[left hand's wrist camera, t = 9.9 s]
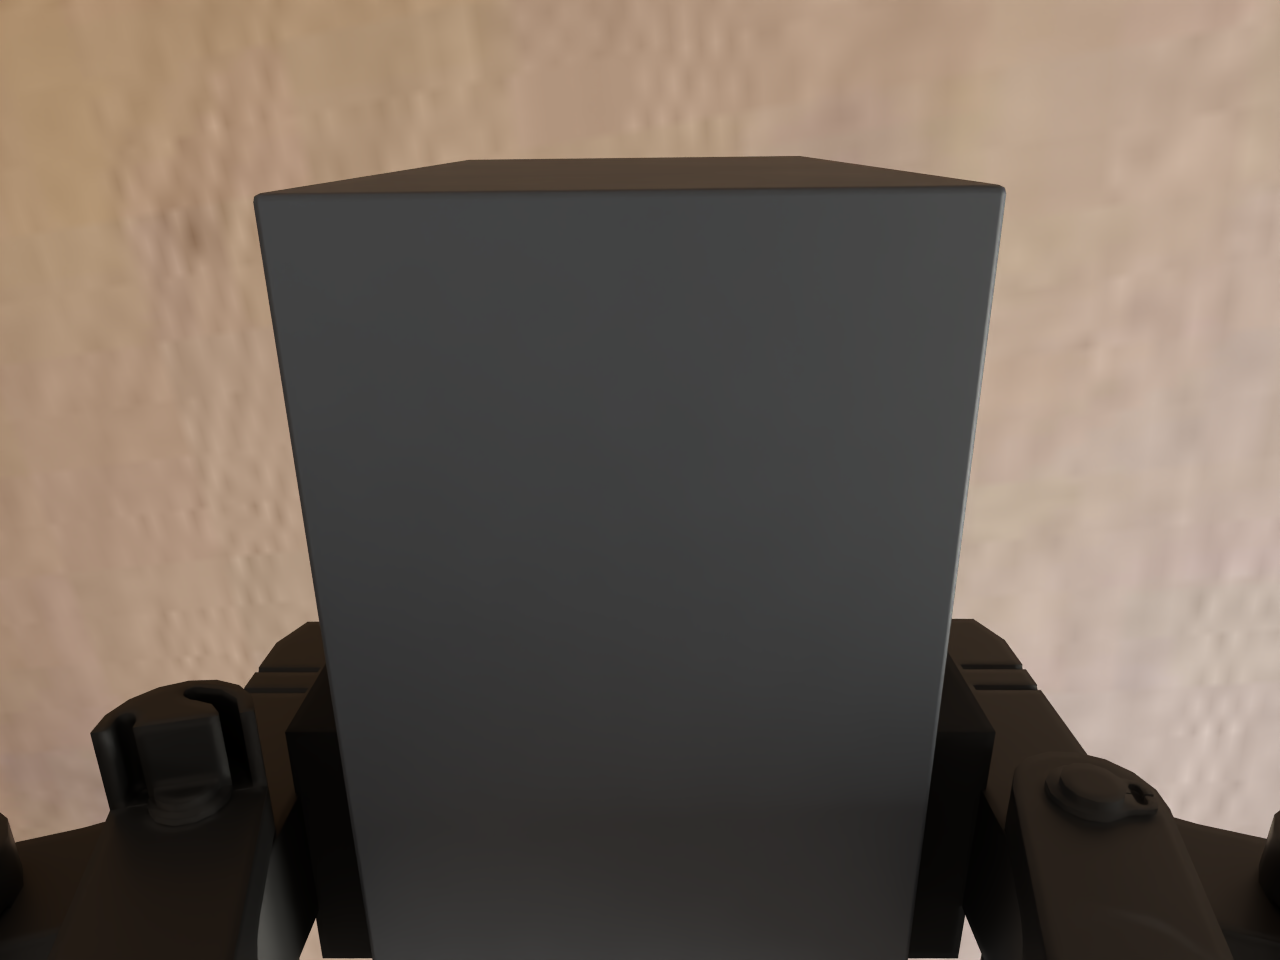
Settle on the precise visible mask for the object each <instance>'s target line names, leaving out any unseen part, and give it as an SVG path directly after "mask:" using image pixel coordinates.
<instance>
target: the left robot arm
mask: <svg viewBox="0 0 1280 960" xmlns="http://www.w3.org/2000/svg"><path fill="white" fill-rule="evenodd" d="M90 734H91V738H92V742H93V746H94V750H95V754H96V757H97V761H98V765H99V769H100V773H101V777H102V781H103V784H104V788H105V792H106V796H107V800H108V804H109V808H110V812H109V814H108V817H107V819H106V821H105V822H102V823H99V824H95V825H92V826H88V827H85V828H80V829H76V830H71V831H67V832H62V833H57V834H53V835H48V836H43V837H39V838H34V839H29V840H25V841H20V842H16V843H15V841H14V838H13V835H12V831H11V828H10V825H9V822H8V819H7V818H6V817H5V816H4V815H3V814H1V813H0V960H299V957H300V955H301V952H302V950H303V948H304V945H305V943H306V940H307V938H308V935H309V933H310V931H311V928H312V926H313V923H314V921H315V919H316V921H317V927H318V933H319V939H320V945H321V951H322V956H323V958H372V952H371V946H370V940H369V933H368V927H367V921H366V914H365V908H364V902H363V895H362V889H361V883H360V876H359V870H358V864H357V857H356V851H355V845H354V838H353V832H352V825H351V819H350V813H349V806H348V800H347V794H346V787H345V781H344V775H343V768H342V762H341V756H340V749H339V743H338V737H337V730H336V724H335V718H334V711H333V705H332V698H331V692H330V686H329V679H328V673H327V667H326V660H325V654H324V648H323V641H322V635H321V629H320V622H307V623H305V624H304V625H302V626H301V627H299V628H298V629H296V630H295V631H293V632H292V633H290V634H289V635H288V636H286V637H285V638H283V639H282V640H280V641H279V642H277V643H276V644H275V646H274V647H273V649H272V650H271V651H270V653H269V654H268V656H267V657H266V658H265V660H264V661H263V662H262V664H261V665H260V667H259V672H255V674H254V675H253V676H252V678H251V679H250V681H249V682H248V683H247V685H246V686H245V688H244V689H243V688H242V687H241V686H239V685H236V684H232V683H228V682H224V681H219V680H197V681H186V682H181V683H177V684H172V685H167V686H163V687H159V688H156V689H154V690H151V691H149V692H146V693H144V694H141V695H139V696H136V697H134V698H132V699H129V700H128V701H126V702H125V703H123V704H122V705H120V706H119V707H117V708H116V709H114V710H113V711H111V712H109V713H108V714H106V715H105V716H104V717H103V719H102V720H101V721H100V722H99V723H98V725H97V726H96V727H95V728H94V729H93V730H92V732H91V733H90ZM965 915H966V917H967V920H968V922H969V925H970V927H971V929H972V932H973V934H974V937H975V939H976V941H977V944H978V946H979V949H980V951H981V953H982V954H981V960H1280V811H1278V812H1277V813H1276V814H1275V815H1274V818H1273V821H1272V824H1271V828H1270V831H1269V834H1268V837H1267V839H1265V838H1260V837H1255V836H1251V835H1246V834H1241V833H1237V832H1232V831H1227V830H1223V829H1218V828H1213V827H1209V826H1204V825H1199V824H1195V823H1192V822H1188V821H1185V820H1181V819H1178V818H1174V817H1173V815H1172V813H1171V810H1170V809H1169V807H1168V806H1167V804H1166V803H1165V802H1164V800H1163V799H1162V797H1161V796H1160V795H1159V793H1158V792H1157V790H1156V789H1154V788H1153V787H1152V786H1150V785H1149V784H1148V783H1146V782H1145V781H1144V780H1142V779H1141V778H1140V777H1139V776H1137V775H1136V774H1135V773H1133V772H1131V771H1129V770H1127V769H1125V768H1123V767H1120V766H1118V765H1116V764H1114V763H1112V762H1110V761H1108V760H1105V759H1102V758H1098V757H1093V756H1089V755H1087V754H1086V752H1085V751H1084V749H1083V748H1082V747H1081V745H1080V744H1079V742H1078V741H1077V740H1076V738H1075V737H1074V736H1073V734H1072V733H1071V731H1070V730H1069V729H1068V727H1067V726H1066V724H1065V723H1064V722H1063V720H1062V719H1061V718H1060V716H1059V715H1058V713H1057V712H1056V711H1055V709H1054V708H1053V706H1052V705H1051V704H1050V702H1049V701H1048V700H1047V698H1046V697H1045V695H1044V694H1043V693H1042V691H1041V690H1037V684H1036V683H1035V682H1034V680H1033V679H1032V677H1031V676H1030V675H1029V673H1028V672H1027V670H1026V669H1022V664H1021V662H1020V661H1019V659H1018V658H1017V657H1016V655H1015V654H1014V652H1013V651H1012V650H1011V648H1010V647H1009V645H1008V644H1007V643H1006V641H1005V640H1004V639H1002V638H1001V637H999V636H998V635H996V634H995V633H993V632H992V631H990V630H989V629H987V628H986V627H984V626H983V625H981V624H980V623H978V622H977V621H975V620H974V619H951V626H950V634H949V642H948V650H947V658H946V665H945V673H944V681H943V689H942V696H941V704H940V712H939V720H938V728H937V735H936V743H935V751H934V759H933V767H932V774H931V782H930V790H929V798H928V805H927V813H926V821H925V829H924V837H923V844H922V852H921V860H920V868H919V876H918V883H917V891H916V899H915V907H914V915H913V922H912V930H911V938H910V946H909V953H908V958H958V954H959V948H960V942H961V936H962V930H963V924H964V918H965Z"/></svg>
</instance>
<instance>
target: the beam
mask: <svg viewBox="0 0 1280 960" xmlns="http://www.w3.org/2000/svg"><path fill="white" fill-rule="evenodd" d="M1005 198H1006V191H1005V188H1004V187H1002V186H1000V185H996V184H989V183H983V182H976V181H969V180H962V179H955V178H948V177H941V176H934V175H927V174H920V173H913V172H906V171H899V170H892V169H885V168H879V167H872V166H865V165H858V164H851V163H844V162H837V161H830V160H823V159H816V158H809V157H802V156H769V157H683V158H596V159H510V160H466V161H460V162H453V163H447V164H441V165H434V166H428V167H422V168H416V169H409V170H403V171H397V172H391V173H384V174H378V175H372V176H366V177H359V178H353V179H347V180H341V181H334V182H328V183H322V184H316V185H309V186H303V187H297V188H291V189H284V190H278V191H272V192H266V193H260V194H258V195H256V196H255V197H254V202H253V203H254V210H255V216H256V222H257V229H258V235H259V241H260V248H261V254H262V260H263V267H264V273H265V279H266V286H267V292H268V298H269V305H270V311H271V317H272V324H273V330H274V337H275V343H276V349H277V356H278V362H279V368H280V375H281V381H282V387H283V394H284V400H285V406H286V413H287V419H288V425H289V432H290V438H291V444H292V451H293V457H294V464H295V470H296V476H297V483H298V489H299V495H300V502H301V508H302V514H303V521H304V527H305V533H306V540H307V546H308V552H309V559H310V565H311V571H312V578H313V584H314V591H315V597H316V603H317V610H318V616H319V622H320V629H321V635H322V641H323V648H324V654H325V660H326V667H327V673H328V679H329V686H330V692H331V698H332V705H333V711H334V718H335V724H336V730H337V737H338V743H339V749H340V756H341V762H342V768H343V775H344V781H345V787H346V794H347V800H348V806H349V813H350V819H351V825H352V832H353V838H354V845H355V851H356V857H357V864H358V870H359V876H360V883H361V889H362V895H363V902H364V908H365V914H366V921H367V927H368V933H369V940H370V946H371V952H372V959H373V960H908V953H909V946H910V938H911V930H912V922H913V915H914V907H915V899H916V891H917V883H918V876H919V868H920V860H921V852H922V844H923V837H924V829H925V821H926V813H927V805H928V798H929V790H930V782H931V774H932V767H933V759H934V751H935V743H936V735H937V728H938V720H939V712H940V704H941V696H942V689H943V681H944V673H945V665H946V658H947V650H948V642H949V634H950V626H951V619H952V611H953V603H954V595H955V587H956V580H957V572H958V564H959V556H960V549H961V541H962V533H963V525H964V517H965V510H966V502H967V494H968V486H969V478H970V471H971V463H972V455H973V447H974V440H975V432H976V424H977V416H978V408H979V401H980V393H981V385H982V377H983V369H984V362H985V354H986V346H987V338H988V331H989V323H990V315H991V307H992V299H993V292H994V284H995V276H996V268H997V260H998V253H999V245H1000V237H1001V229H1002V222H1003V214H1004V206H1005Z"/></svg>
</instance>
